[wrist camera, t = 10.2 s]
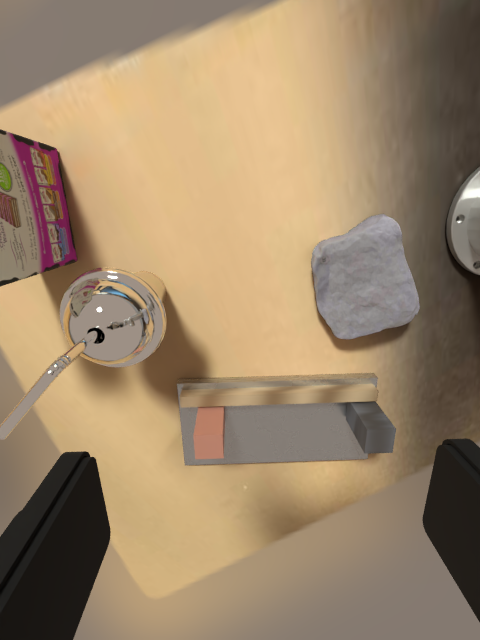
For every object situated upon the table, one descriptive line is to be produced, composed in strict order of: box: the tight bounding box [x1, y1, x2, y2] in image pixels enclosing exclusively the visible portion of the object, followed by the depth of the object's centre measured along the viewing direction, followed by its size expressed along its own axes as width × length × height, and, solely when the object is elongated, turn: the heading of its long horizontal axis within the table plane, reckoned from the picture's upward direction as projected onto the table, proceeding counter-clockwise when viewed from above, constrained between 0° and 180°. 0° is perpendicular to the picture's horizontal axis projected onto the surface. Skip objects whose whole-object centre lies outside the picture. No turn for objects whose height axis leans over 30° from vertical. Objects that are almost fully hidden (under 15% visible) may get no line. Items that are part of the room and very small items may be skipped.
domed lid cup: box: [0, 267, 166, 439], centre depth 26 cm, size 8×9×20 cm
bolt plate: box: [177, 373, 378, 465], centre depth 41 cm, size 24×12×1 cm, turn 91°
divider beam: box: [180, 384, 396, 454], centre depth 37 cm, size 23×6×6 cm, turn 91°
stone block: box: [311, 214, 420, 339], centre depth 35 cm, size 12×5×10 cm
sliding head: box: [193, 406, 225, 459], centre depth 37 cm, size 3×4×6 cm
